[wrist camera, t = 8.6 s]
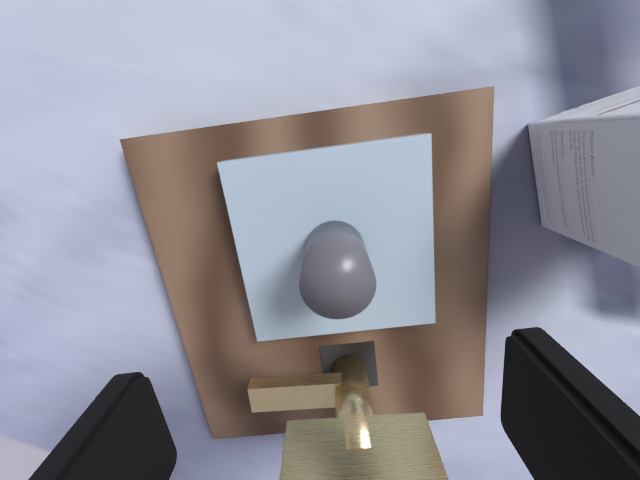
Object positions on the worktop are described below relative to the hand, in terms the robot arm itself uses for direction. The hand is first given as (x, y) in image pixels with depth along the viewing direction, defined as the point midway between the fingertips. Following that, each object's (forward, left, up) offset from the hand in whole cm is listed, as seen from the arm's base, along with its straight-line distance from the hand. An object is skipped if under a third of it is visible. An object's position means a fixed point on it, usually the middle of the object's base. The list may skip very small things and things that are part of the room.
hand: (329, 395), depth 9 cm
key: (+1, +10, -13) cm, 17 cm away
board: (+1, +4, -15) cm, 15 cm away
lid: (0, 0, -13) cm, 13 cm away
